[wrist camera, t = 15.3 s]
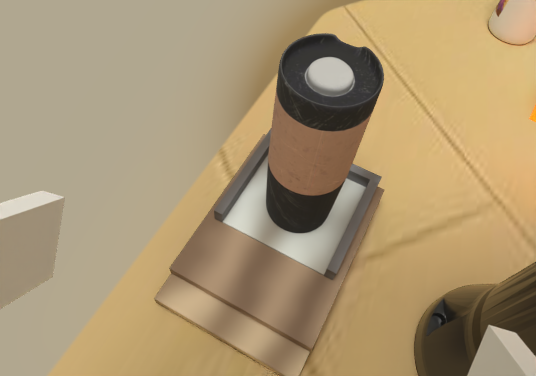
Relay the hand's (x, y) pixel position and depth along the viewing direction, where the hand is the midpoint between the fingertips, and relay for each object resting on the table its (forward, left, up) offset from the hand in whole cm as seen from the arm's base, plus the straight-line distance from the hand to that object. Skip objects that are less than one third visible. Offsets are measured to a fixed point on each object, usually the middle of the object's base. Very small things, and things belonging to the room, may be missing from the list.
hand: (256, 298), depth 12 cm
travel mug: (-9, -17, -28) cm, 34 cm away
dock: (-6, -14, -31) cm, 35 cm away
